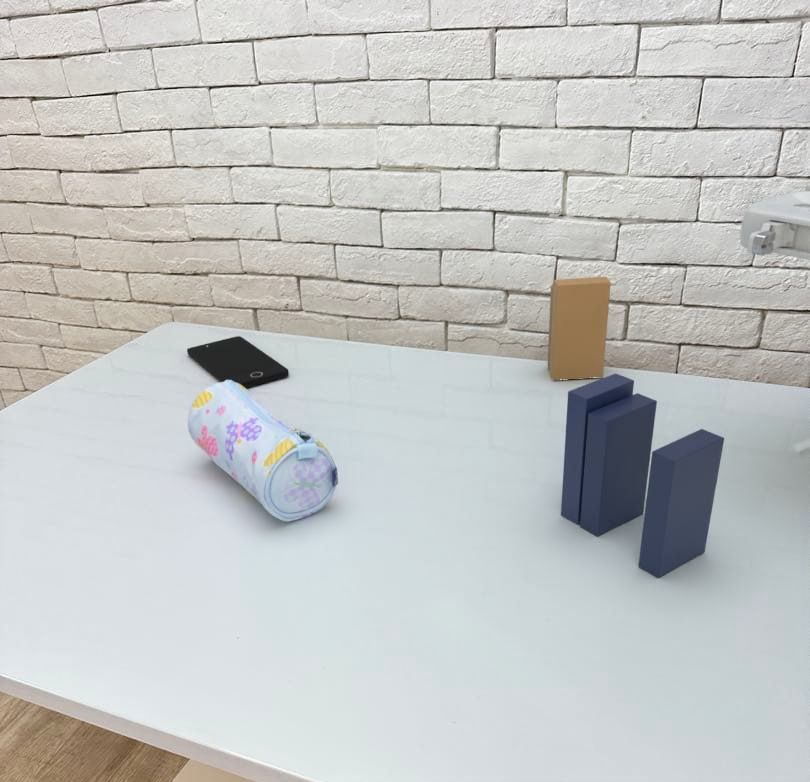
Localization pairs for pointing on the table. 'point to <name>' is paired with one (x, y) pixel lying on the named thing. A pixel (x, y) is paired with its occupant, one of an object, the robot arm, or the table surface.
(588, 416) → the navy books
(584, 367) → the tan rectangular block
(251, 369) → the cell phone
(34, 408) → the table surface
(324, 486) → the pencil case
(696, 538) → the navy book
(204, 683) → the table surface
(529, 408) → the table surface
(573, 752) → the table surface
